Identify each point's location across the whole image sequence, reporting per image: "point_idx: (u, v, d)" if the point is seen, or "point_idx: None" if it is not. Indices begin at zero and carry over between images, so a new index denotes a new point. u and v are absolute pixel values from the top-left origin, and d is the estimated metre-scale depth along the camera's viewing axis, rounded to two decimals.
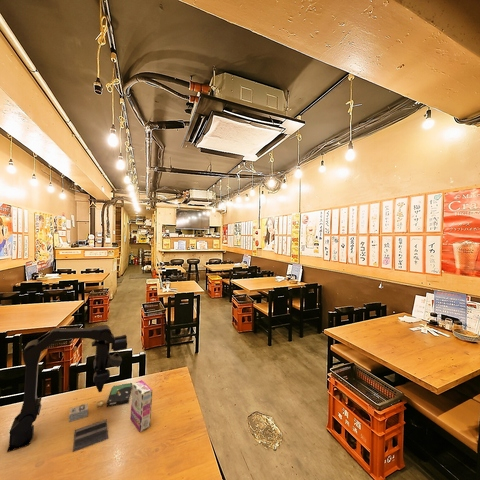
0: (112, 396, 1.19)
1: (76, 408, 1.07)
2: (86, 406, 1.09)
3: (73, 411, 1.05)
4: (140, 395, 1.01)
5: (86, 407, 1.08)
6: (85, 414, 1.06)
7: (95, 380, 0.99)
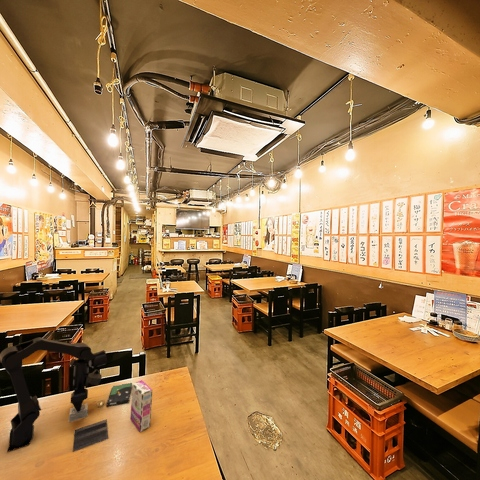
0: (112, 396, 1.19)
1: None
2: (86, 406, 1.09)
3: (73, 411, 1.05)
4: (140, 395, 1.01)
5: (86, 407, 1.08)
6: (85, 414, 1.06)
7: (72, 400, 0.98)
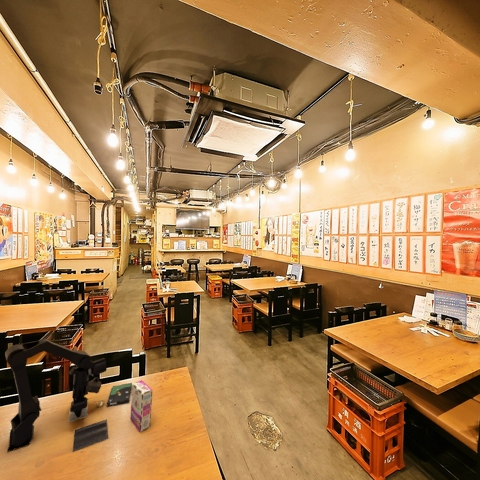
0: (112, 396, 1.19)
1: None
2: None
3: None
4: (140, 395, 1.01)
5: (86, 407, 1.08)
6: (85, 414, 1.06)
7: (72, 409, 0.98)
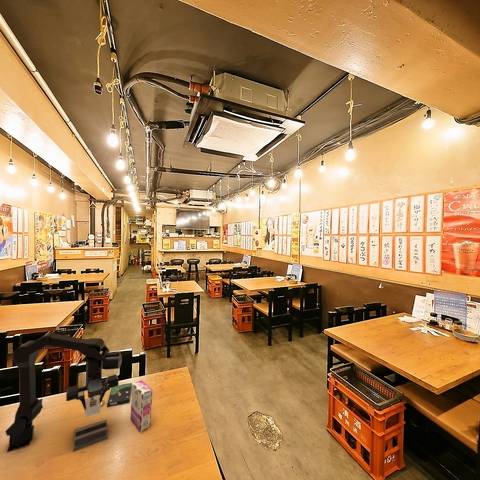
0: (112, 396, 1.19)
1: (94, 399, 0.99)
2: (93, 405, 0.96)
3: (89, 399, 0.99)
4: (140, 395, 1.01)
5: (91, 406, 0.95)
6: (85, 412, 0.94)
7: None
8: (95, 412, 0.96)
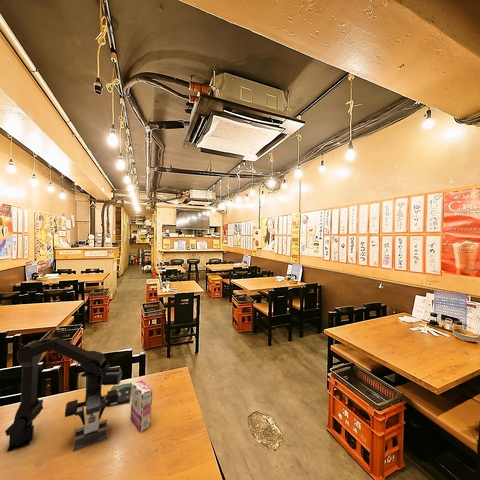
0: None
1: (94, 415, 0.98)
2: (92, 422, 0.94)
3: (89, 415, 0.98)
4: (140, 395, 1.01)
5: (89, 422, 0.94)
6: (84, 429, 0.93)
7: None
8: (93, 429, 0.94)
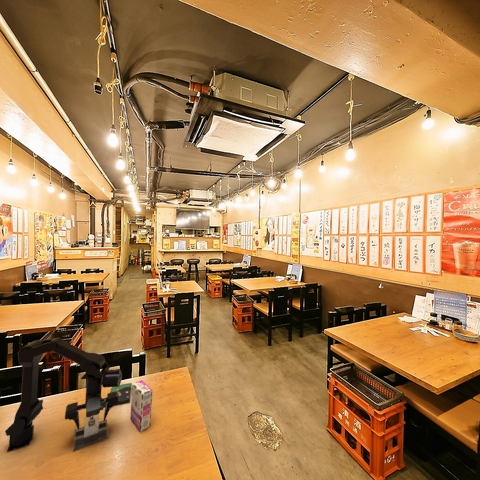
0: None
1: (93, 418, 0.98)
2: (91, 425, 0.94)
3: (88, 418, 0.98)
4: (140, 395, 1.01)
5: (89, 426, 0.94)
6: (84, 432, 0.93)
7: None
8: (93, 432, 0.94)
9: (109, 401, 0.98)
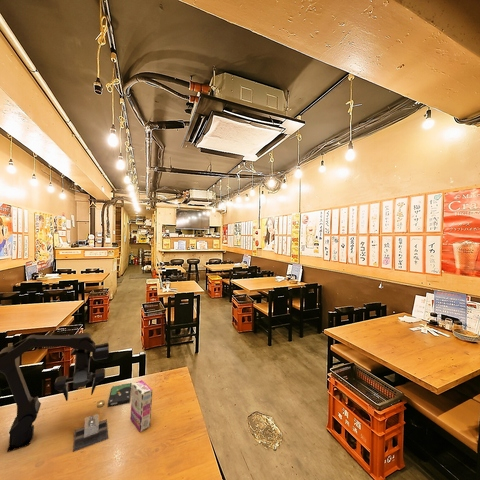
0: (112, 396, 1.19)
1: (93, 418, 0.98)
2: (91, 425, 0.94)
3: (88, 418, 0.98)
4: (140, 395, 1.01)
5: (89, 426, 0.94)
6: (84, 432, 0.93)
7: None
8: (93, 432, 0.94)
9: (96, 376, 1.04)
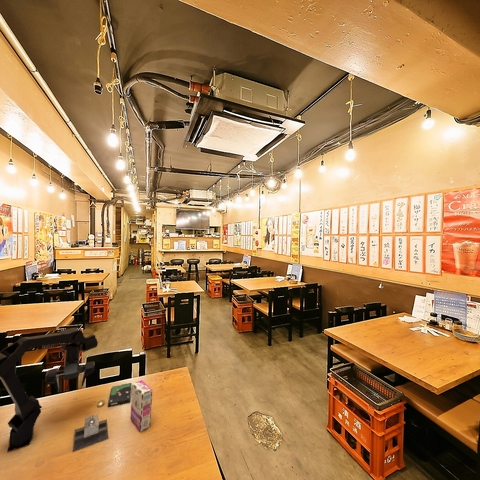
0: (112, 396, 1.19)
1: (93, 418, 0.98)
2: (91, 425, 0.94)
3: (88, 418, 0.98)
4: (140, 395, 1.01)
5: (89, 426, 0.94)
6: (84, 432, 0.93)
7: None
8: (93, 432, 0.94)
9: (86, 368, 1.09)
